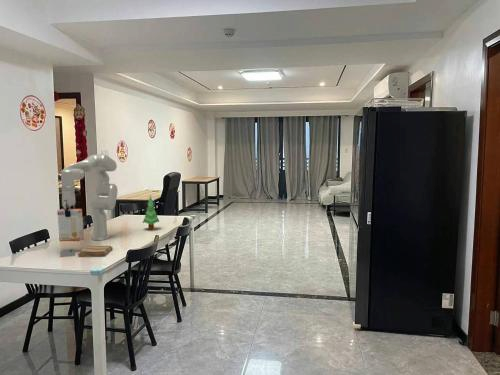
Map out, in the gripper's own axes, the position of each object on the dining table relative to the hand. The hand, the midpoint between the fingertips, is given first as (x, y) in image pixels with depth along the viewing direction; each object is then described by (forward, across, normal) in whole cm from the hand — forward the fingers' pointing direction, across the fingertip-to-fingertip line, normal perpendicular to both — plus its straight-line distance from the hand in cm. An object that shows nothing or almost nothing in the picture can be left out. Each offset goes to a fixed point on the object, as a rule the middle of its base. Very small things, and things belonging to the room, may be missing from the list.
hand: (70, 215), depth 234 cm
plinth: (+24, +7, +18) cm, 31 cm away
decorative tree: (+26, -64, +39) cm, 79 cm away
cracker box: (+17, 0, 0) cm, 17 cm away
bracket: (+24, +11, +2) cm, 26 cm away
